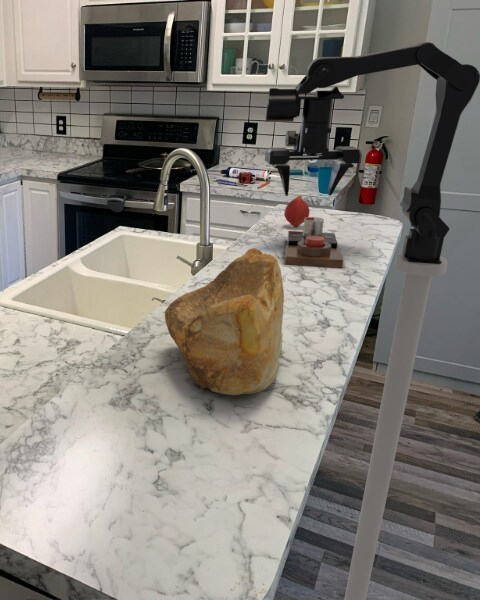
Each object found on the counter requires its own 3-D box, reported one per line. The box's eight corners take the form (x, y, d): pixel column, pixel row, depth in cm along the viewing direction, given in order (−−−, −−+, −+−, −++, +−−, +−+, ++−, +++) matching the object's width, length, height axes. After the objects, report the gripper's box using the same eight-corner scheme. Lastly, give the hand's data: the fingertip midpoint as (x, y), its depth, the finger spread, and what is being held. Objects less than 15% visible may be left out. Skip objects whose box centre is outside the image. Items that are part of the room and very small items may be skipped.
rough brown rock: (189, 326, 102) (184, 240, 96) (294, 334, 94) (295, 242, 89) (139, 397, 83) (130, 295, 77) (265, 415, 75) (264, 304, 70)
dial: (321, 234, 137) (323, 215, 136) (322, 239, 134) (324, 220, 132) (302, 233, 138) (304, 215, 137) (302, 238, 135) (305, 219, 133)
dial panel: (333, 243, 139) (334, 232, 138) (336, 254, 132) (337, 242, 131) (287, 240, 142) (288, 229, 141) (287, 251, 135) (288, 239, 134)
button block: (338, 255, 131) (341, 240, 130) (342, 268, 124) (344, 251, 123) (285, 252, 134) (286, 237, 133) (285, 264, 127) (286, 248, 126)
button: (322, 244, 129) (323, 236, 128) (323, 249, 126) (324, 240, 125) (304, 242, 130) (305, 235, 129) (305, 247, 127) (306, 239, 126)
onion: (287, 230, 150) (291, 198, 147) (279, 224, 155) (283, 193, 152) (311, 229, 150) (315, 197, 147) (302, 223, 155) (306, 192, 152)
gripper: (349, 116, 134) (340, 187, 140) (263, 118, 136) (257, 188, 142) (367, 122, 124) (356, 198, 130) (273, 124, 126) (267, 199, 132)
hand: (307, 195), depth 134 cm, fingers open, 9 cm apart
